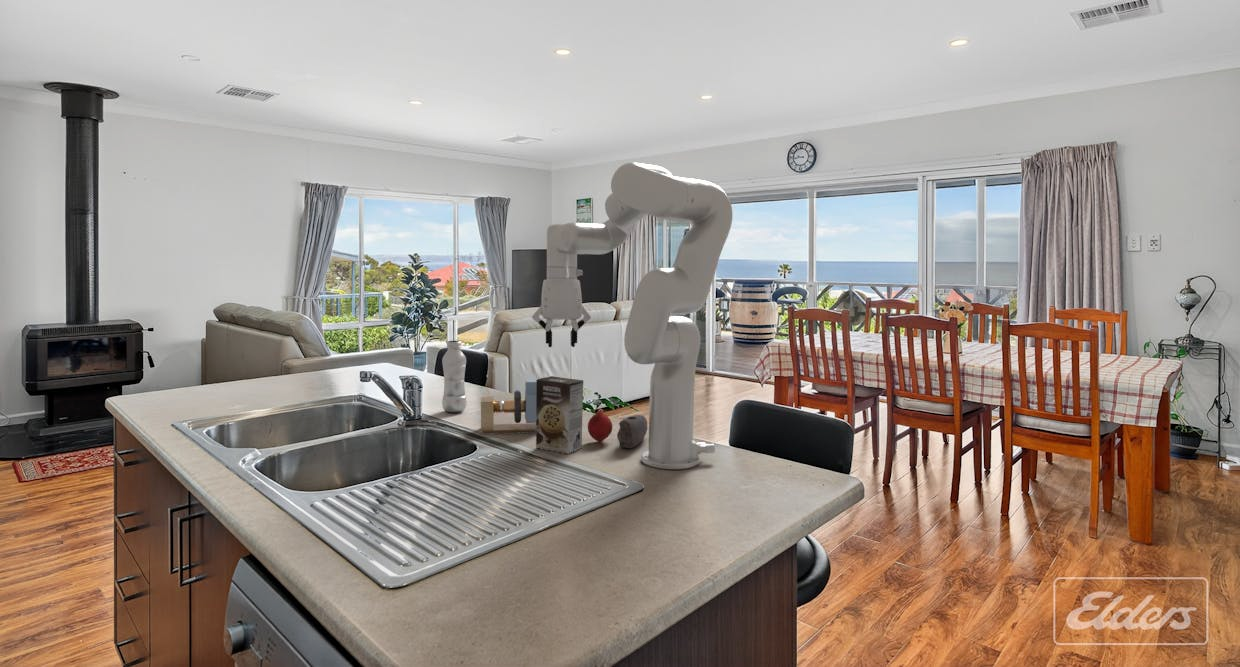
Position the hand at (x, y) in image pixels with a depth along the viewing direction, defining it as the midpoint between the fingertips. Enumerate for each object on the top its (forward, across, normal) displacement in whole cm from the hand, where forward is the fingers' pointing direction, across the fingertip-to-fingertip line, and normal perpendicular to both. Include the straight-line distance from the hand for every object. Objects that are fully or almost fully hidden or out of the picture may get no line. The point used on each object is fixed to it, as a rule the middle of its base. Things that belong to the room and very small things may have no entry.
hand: (561, 345), depth 171 cm
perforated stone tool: (+22, -16, +16) cm, 31 cm away
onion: (+22, -8, +14) cm, 27 cm away
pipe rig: (+21, +12, 0) cm, 25 cm away
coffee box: (+22, +2, +18) cm, 28 cm away
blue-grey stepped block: (+19, +7, 0) cm, 20 cm away
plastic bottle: (+22, +28, -22) cm, 42 cm away
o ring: (+19, +11, 0) cm, 22 cm away
